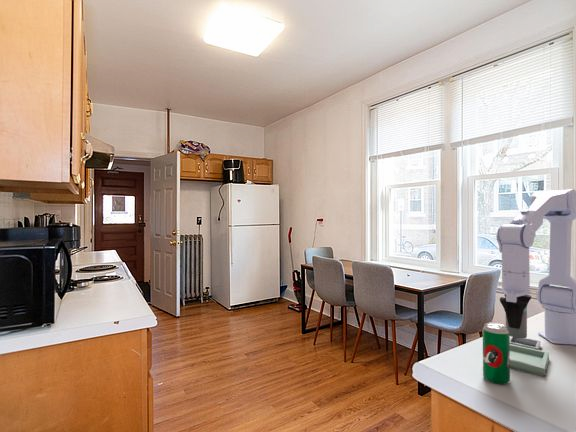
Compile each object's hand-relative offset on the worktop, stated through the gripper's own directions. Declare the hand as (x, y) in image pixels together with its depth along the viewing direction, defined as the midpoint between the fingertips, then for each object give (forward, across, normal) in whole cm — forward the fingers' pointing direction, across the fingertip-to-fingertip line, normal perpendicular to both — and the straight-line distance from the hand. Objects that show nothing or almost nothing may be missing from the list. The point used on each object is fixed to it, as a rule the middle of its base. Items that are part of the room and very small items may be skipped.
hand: (516, 325), depth 81 cm
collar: (+9, -12, 0) cm, 15 cm away
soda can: (+9, +15, -2) cm, 18 cm away
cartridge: (+2, 0, 0) cm, 2 cm away
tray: (+9, 0, 0) cm, 9 cm away
